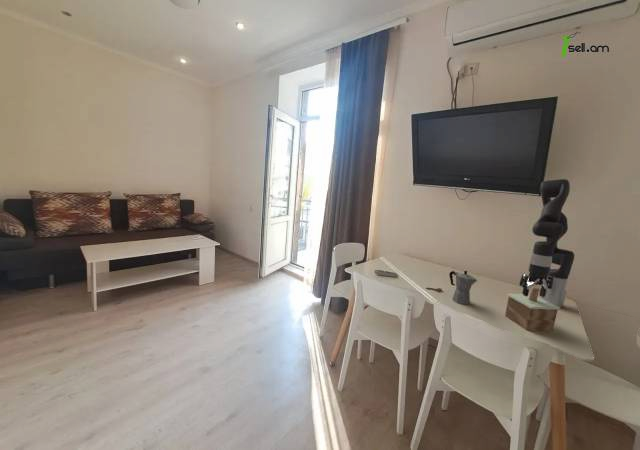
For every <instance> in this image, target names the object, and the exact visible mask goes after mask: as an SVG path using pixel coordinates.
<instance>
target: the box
mask: <svg viewBox="0 0 640 450" xmlns="http://www.w3.org/2000/svg"><path fill="white" fill-rule="evenodd" d="M558 311H559V310H552V309H531V308H529V307H527V306H526V305H524V304H522V303H520V302H518V301H517V300H515V299H513V298H511V297H509V296H508V298H507V304H506V310H505V313H504V317H505V318H507V319H509V320H511V321H512V322H514V323H515V324H517V326H520V327H521V328H522V329H523V330H525V331H532V332H533V331H535V332H542V331H543V332H554V327H555V324H556V319H557V314H558Z"/></svg>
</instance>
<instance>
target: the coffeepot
mask: <svg viewBox="0 0 640 450" xmlns="http://www.w3.org/2000/svg"><path fill="white" fill-rule="evenodd" d="M463 272H464V273H461V272H460V273H459V272H457V271H455V270H454V271H453V270H452V271H450V272H449V274H448V275H449V280H450V285H452V286H456V288H455V291H454V293H453V296H452V301H453V302H455V303H457V304H460V305H464V306H465V305H466V306H467V305H470V303H471V295H470V294H471V292H470V291H471V288H472V286H473V285H474V284H475V283H476V282H478V280H477V278H475V277H474V276H472V275H470V274H468V271H467V270H464V271H463ZM453 275H454V276H455V283H454V277H453Z"/></svg>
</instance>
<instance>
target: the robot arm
mask: <svg viewBox="0 0 640 450" xmlns="http://www.w3.org/2000/svg"><path fill="white" fill-rule="evenodd" d="M539 187H540V194H541V195H540V196H541V200H542V209H541V213H540V216H539V218H538V219H537V221H535V223H534V225H532V231H531V232H532V233H533V235H535V236H537V237H544V238H545V240H546V241H543V240H542V241H541V240H540V241H535V243H534V244H533V249H532V255H531V256H530V260H529V265H528V272H529V273H528V274H525V273H522V275H521V277H520V282H519V287H522V288H523V289H522V293H521V294H523V295H524V296H528V294H530V289H531V287H534V286H537V285H538V286H540V288H539V293H538V296H540V298H541V299H543V300H546V301H548V302H550V303H552V304H554V305H556V306H558V307H560V309H561V308H562V307H564V303H565V300H566V295H567V291H566V288H567V283H568V279H569V277H570V274H571V270H572V267H573V263H574V260H575V253H574V252H573V251H572V250H568V249H564V248H558V242H559V241H560V240H561V239H562V237H563V236H565V234H566V233H567V231H568V230H569V229H568V227H569V226H568V223H569V222H568V218H567V216H566V215H565V214H564V213H563V211H562V209H563V207H564V205H565V203H566V201H567V199H568V197H569V194H570V190H571V188H570V181H569V180H568V179H565V178H559V179H550V180H544V181H542V182H541V183H540V186H539ZM552 198H553V199H552ZM552 264H553V265H558V266H559V268H551V267H552Z"/></svg>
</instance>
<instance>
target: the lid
mask: <svg viewBox="0 0 640 450" xmlns="http://www.w3.org/2000/svg"><path fill="white" fill-rule="evenodd" d="M539 294H540V288H538V287H534V286H531V287H530V289H529V293H528V296H524V295H523V294H522V293H507V294H506V295H507V297H508V298H509V297H511V298H513V299H515V300H517V301H518V302H520V303H522V304H524V305H526V306H527V307H529V308H531V309H552V310H558V311H560V310H561V308H560V307H558V306H556V305H554V304H552V303H550V302H548V301H546V300H543V299H541V297H539Z"/></svg>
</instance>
